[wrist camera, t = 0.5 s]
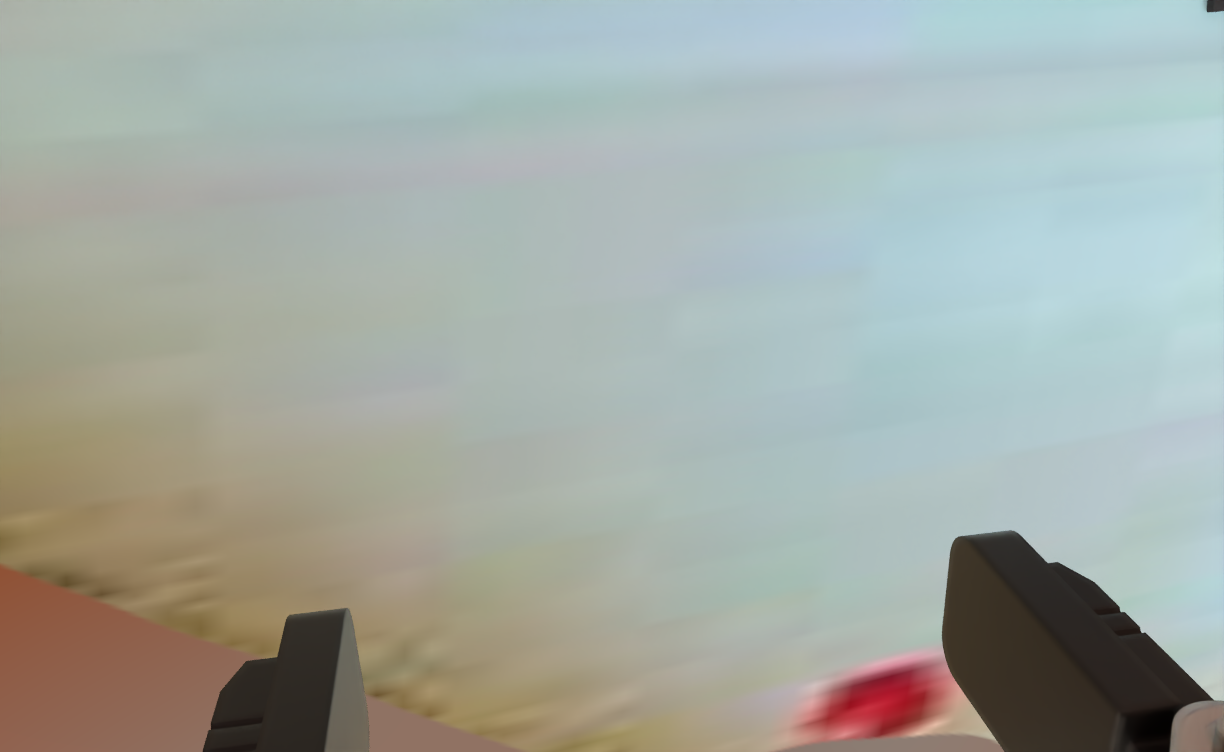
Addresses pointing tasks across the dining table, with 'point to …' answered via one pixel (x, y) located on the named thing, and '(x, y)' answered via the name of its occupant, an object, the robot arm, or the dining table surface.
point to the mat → (1215, 5)
